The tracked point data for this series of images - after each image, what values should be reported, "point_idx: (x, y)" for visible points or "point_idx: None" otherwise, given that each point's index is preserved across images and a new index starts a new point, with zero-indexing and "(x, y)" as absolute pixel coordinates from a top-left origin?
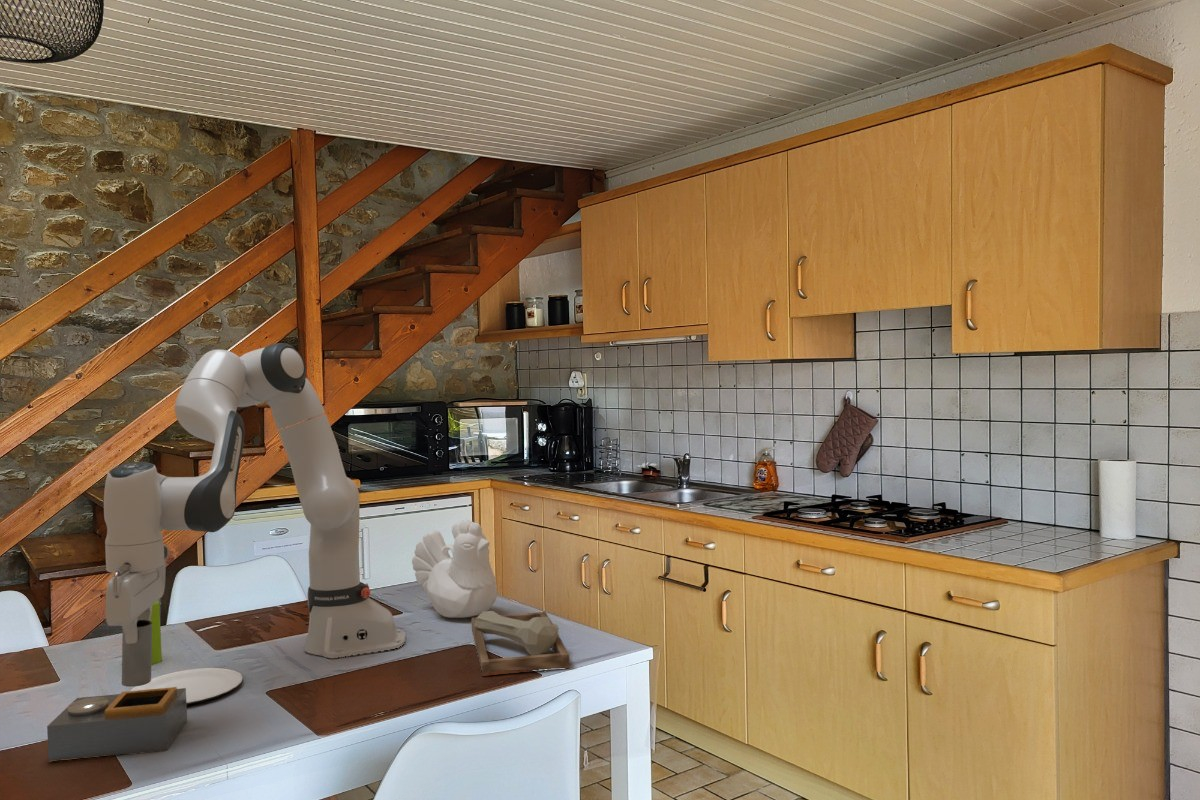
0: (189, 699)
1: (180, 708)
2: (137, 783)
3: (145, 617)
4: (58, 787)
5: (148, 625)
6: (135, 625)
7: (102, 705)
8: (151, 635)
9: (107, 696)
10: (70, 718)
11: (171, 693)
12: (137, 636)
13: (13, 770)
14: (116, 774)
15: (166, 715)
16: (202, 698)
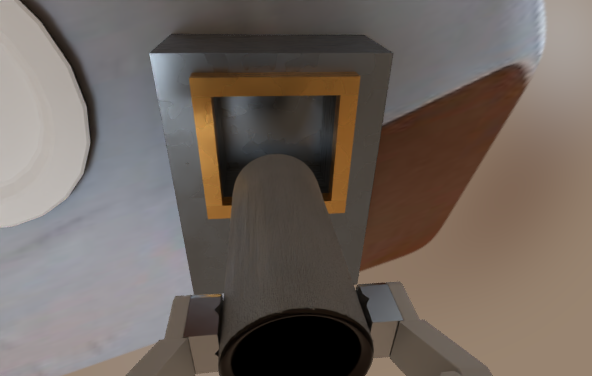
0: (45, 60)
1: (232, 45)
2: (517, 53)
3: (173, 374)
4: (455, 187)
5: (337, 309)
6: (469, 358)
7: None
8: (291, 255)
9: (196, 243)
10: None
11: (254, 78)
12: (397, 299)
13: None
14: (449, 109)
15: (387, 52)
16: (31, 19)
